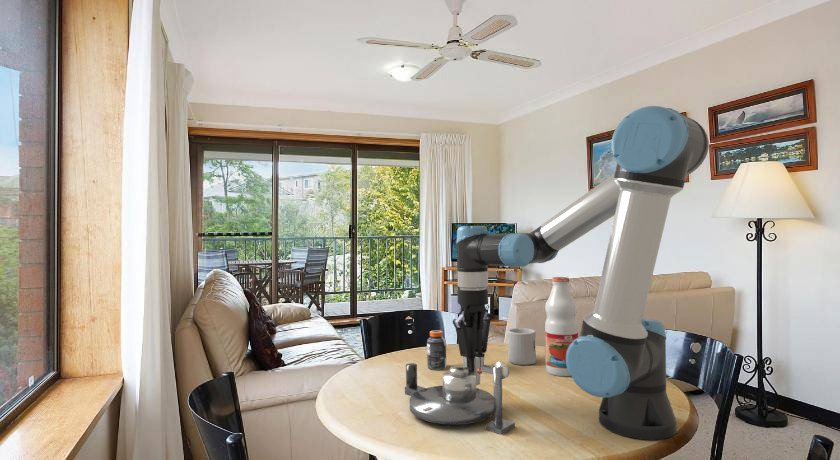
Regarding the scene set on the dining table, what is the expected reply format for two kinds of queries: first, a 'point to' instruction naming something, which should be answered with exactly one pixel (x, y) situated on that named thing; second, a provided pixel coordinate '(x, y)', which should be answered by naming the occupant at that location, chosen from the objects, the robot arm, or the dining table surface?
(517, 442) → the dining table surface
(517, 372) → the dining table surface
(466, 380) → the cover
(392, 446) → the dining table surface
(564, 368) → the fruit juice
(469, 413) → the turntable
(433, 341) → the pill bottle
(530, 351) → the mug
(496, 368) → the indicator
